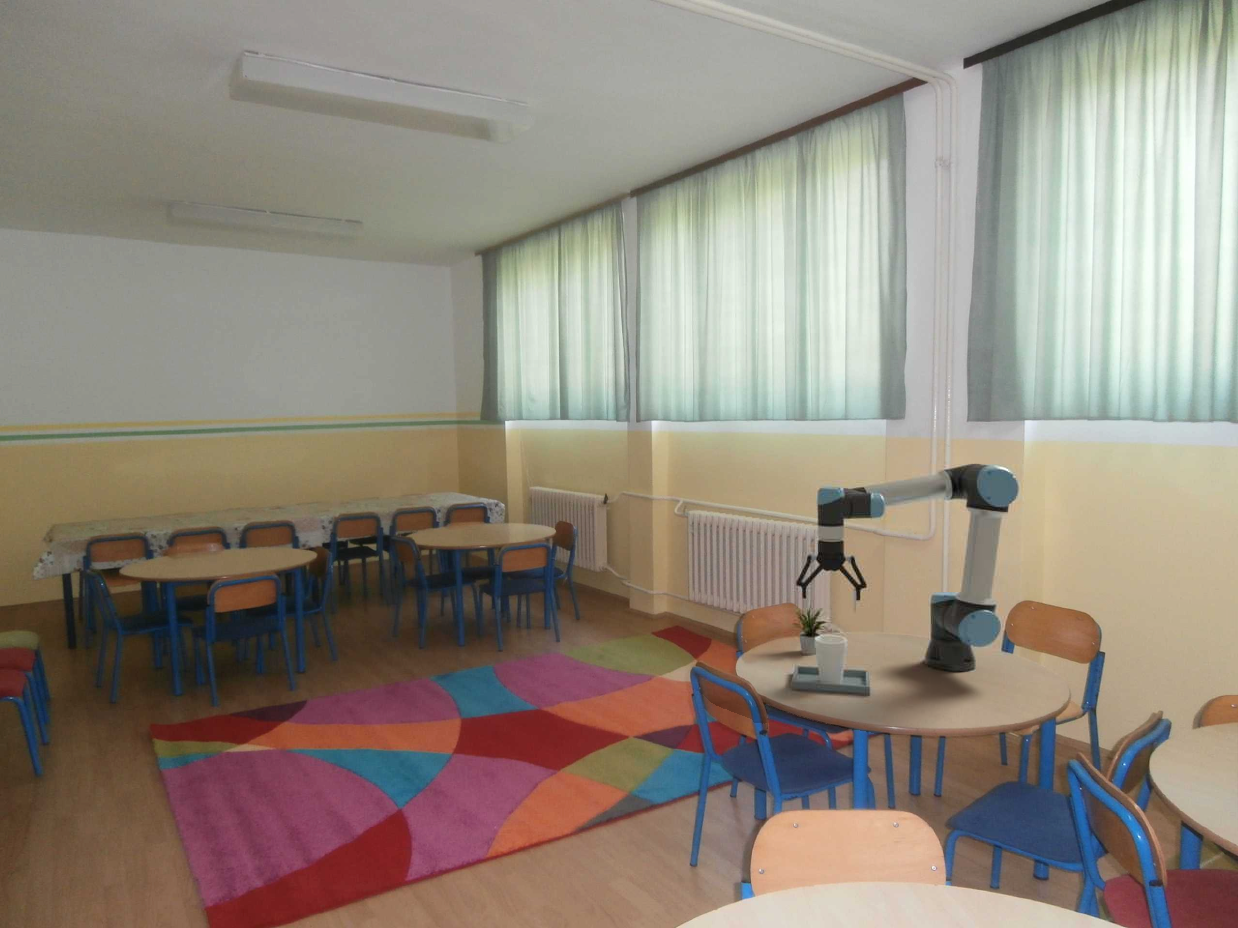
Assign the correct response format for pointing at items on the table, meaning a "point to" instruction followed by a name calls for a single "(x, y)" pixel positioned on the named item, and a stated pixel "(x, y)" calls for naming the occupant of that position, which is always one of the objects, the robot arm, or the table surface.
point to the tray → (851, 683)
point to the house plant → (809, 631)
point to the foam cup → (831, 657)
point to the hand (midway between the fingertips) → (831, 610)
